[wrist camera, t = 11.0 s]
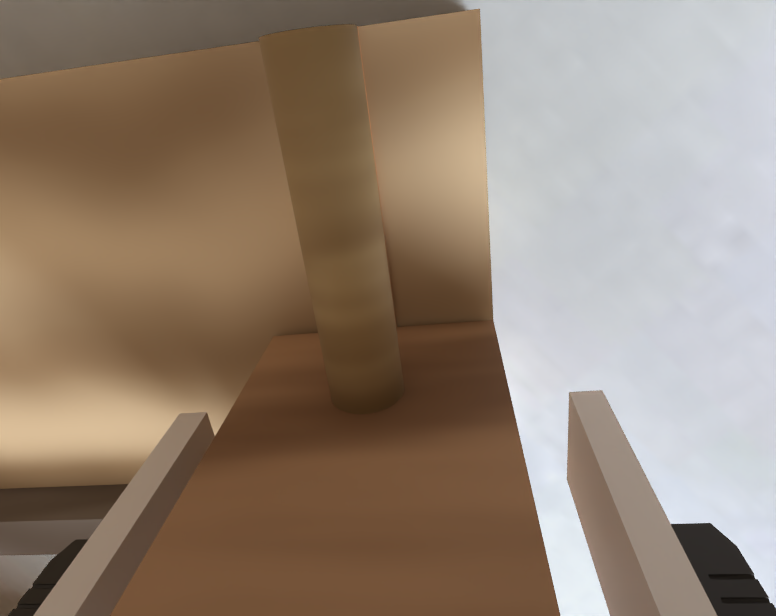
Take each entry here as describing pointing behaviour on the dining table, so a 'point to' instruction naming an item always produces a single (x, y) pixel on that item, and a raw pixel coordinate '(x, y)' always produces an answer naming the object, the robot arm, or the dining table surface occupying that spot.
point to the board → (199, 247)
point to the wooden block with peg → (352, 419)
